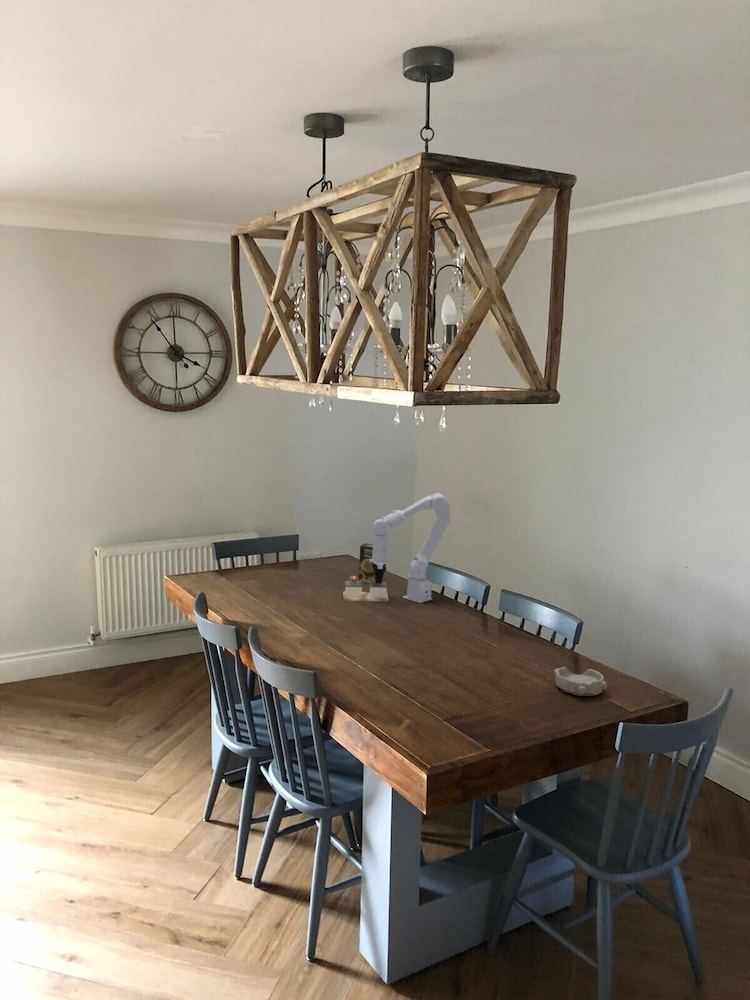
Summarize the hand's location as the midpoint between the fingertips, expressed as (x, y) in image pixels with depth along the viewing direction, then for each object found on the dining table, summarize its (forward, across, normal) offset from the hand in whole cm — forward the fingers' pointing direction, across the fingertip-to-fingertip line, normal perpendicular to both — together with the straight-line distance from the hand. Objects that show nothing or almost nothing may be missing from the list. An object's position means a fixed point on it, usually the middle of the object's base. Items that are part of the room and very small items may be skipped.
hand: (378, 582), depth 327 cm
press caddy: (+6, 0, -5) cm, 8 cm away
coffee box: (+7, -25, -2) cm, 26 cm away
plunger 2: (+4, 0, 0) cm, 4 cm away
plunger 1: (+4, 0, -10) cm, 11 cm away
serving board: (+6, 0, -5) cm, 8 cm away
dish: (+7, +91, +56) cm, 107 cm away
